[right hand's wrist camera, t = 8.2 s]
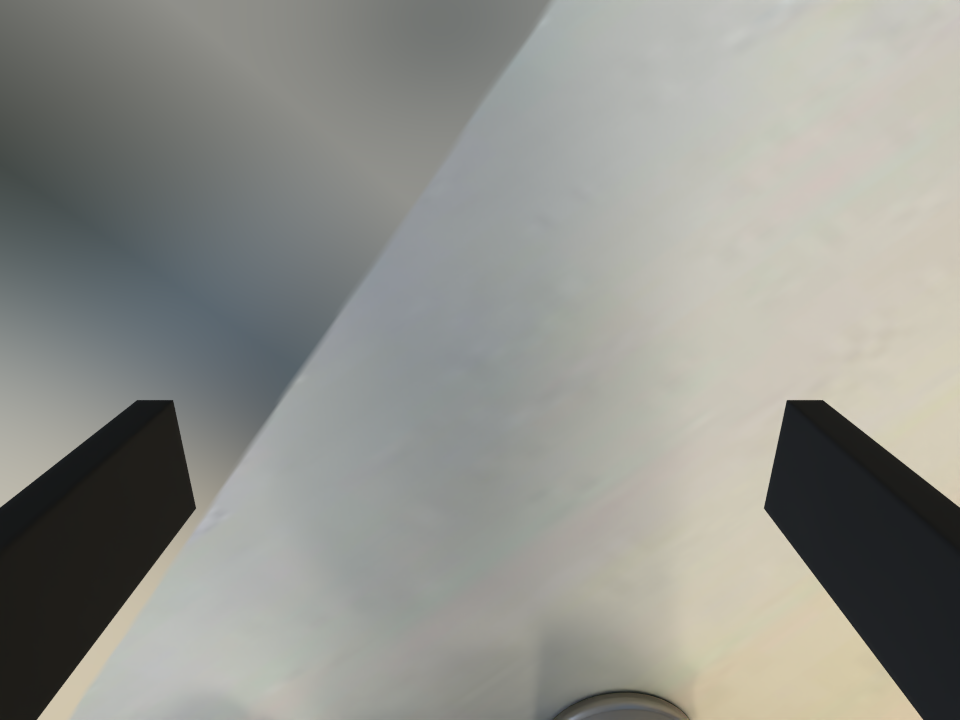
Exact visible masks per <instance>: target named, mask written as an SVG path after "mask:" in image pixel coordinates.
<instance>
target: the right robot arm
mask: <svg viewBox="0 0 960 720" xmlns="http://www.w3.org/2000/svg"><path fill="white" fill-rule="evenodd" d="M195 509H196V506H195V502H194V497H193V492H192V487H191V483H190V478H189V473H188V469H187V464H186V459H185V455H184V450H183V445H182V440H181V435H180V431H179V426H178V421H177V417H176V412H175V407H174V403H173V400H137V401H136V402H134V403H133V404H132V405H131V406H129V407H128V408H127V409H125V410H124V411H123V412H122V413H120V414H119V415H118V416H117V417H115V418H114V419H113V420H112V421H110V422H109V423H108V424H106V425H105V426H104V427H103V428H101V429H100V430H99V431H97V432H96V433H95V434H94V435H92V436H91V437H90V438H88V439H87V440H86V441H85V442H83V443H82V444H81V445H80V446H78V447H77V448H76V449H74V450H73V451H72V452H71V453H69V454H68V455H67V456H66V457H64V458H63V459H62V460H60V461H59V462H58V463H57V464H55V465H54V466H53V467H51V468H50V469H49V470H48V471H46V472H45V473H44V474H43V475H41V476H40V477H39V478H37V479H36V480H35V481H34V482H32V483H31V484H30V485H29V486H27V487H26V488H25V489H23V490H22V491H21V492H20V493H18V494H17V495H16V496H15V497H13V498H12V499H11V500H9V501H8V502H7V503H6V504H4V505H3V506H2V507H0V720H37V719H38V717H39V716H40V715H41V713H42V712H43V711H44V709H45V708H46V707H47V705H48V704H49V703H50V701H51V700H52V699H53V697H54V696H55V695H56V693H57V692H58V691H59V689H60V688H61V687H62V685H63V684H64V683H65V681H66V680H67V679H68V678H69V676H70V675H71V673H72V672H73V671H74V670H75V668H76V667H77V666H78V664H79V663H80V661H81V660H82V659H83V658H84V656H85V655H86V654H87V652H88V651H89V650H90V648H91V647H92V646H93V644H94V643H95V642H96V640H97V639H98V638H99V636H100V635H101V634H102V632H103V631H104V630H105V628H106V627H107V626H108V624H109V623H110V622H111V620H112V619H113V618H114V616H115V615H116V614H117V612H118V611H119V610H120V609H121V607H122V606H123V605H124V603H125V602H126V601H127V599H128V598H129V597H130V595H131V594H132V593H133V591H134V590H135V589H136V587H137V586H138V585H139V583H140V582H141V581H142V579H143V578H144V577H145V575H146V574H147V573H148V571H149V570H150V569H151V567H152V566H153V565H154V563H155V562H156V561H157V559H158V558H159V557H160V555H161V554H162V553H163V551H164V550H165V549H166V547H167V546H168V545H169V543H170V542H171V541H172V539H173V538H174V537H175V536H176V534H177V533H178V531H179V530H180V529H181V528H182V526H183V525H184V524H185V522H186V521H187V520H188V518H189V517H190V516H191V514H192V513H193V512H194V510H195ZM764 509H765V510H766V512H767V513H768V514H769V516H770V517H771V518H772V520H773V521H774V522H775V524H776V525H777V526H778V528H779V529H780V530H781V532H782V533H783V534H784V536H785V537H786V538H787V539H788V541H789V542H790V543H791V545H792V546H793V547H794V549H795V550H796V551H797V553H798V554H799V555H800V557H801V558H802V559H803V561H804V562H805V563H806V565H807V566H808V567H809V569H810V570H811V571H812V573H813V574H814V575H815V577H816V578H817V579H818V581H819V582H820V583H821V585H822V586H823V587H824V589H825V590H826V591H827V593H828V594H829V595H830V597H831V598H832V599H833V601H834V602H835V603H836V605H837V606H838V607H839V609H840V610H841V611H842V612H843V614H844V615H845V616H846V618H847V619H848V620H849V622H850V623H851V624H852V626H853V627H854V628H855V630H856V631H857V632H858V634H859V635H860V636H861V638H862V639H863V640H864V642H865V643H866V644H867V646H868V647H869V648H870V650H871V651H872V652H873V654H874V655H875V656H876V658H877V659H878V660H879V662H880V663H881V664H882V666H883V667H884V668H885V670H886V671H887V672H888V674H889V675H890V676H891V678H892V679H893V680H894V681H895V683H896V684H897V685H898V687H899V688H900V689H901V691H902V692H903V693H904V695H905V696H906V697H907V699H908V700H909V701H910V703H911V704H912V705H913V707H914V708H915V709H916V711H917V712H918V713H919V715H920V716H921V717H922V719H923V720H960V507H958V506H957V505H956V504H954V503H953V502H952V501H951V500H949V499H948V498H947V497H945V496H944V495H943V494H942V493H940V492H939V491H938V490H937V489H935V488H934V487H933V486H931V485H930V484H929V483H928V482H926V481H925V480H924V479H923V478H921V477H920V476H919V475H917V474H916V473H915V472H914V471H912V470H911V469H910V468H909V467H907V466H906V465H905V464H903V463H902V462H901V461H900V460H898V459H897V458H896V457H894V456H893V455H892V454H891V453H889V452H888V451H887V450H886V449H884V448H883V447H882V446H880V445H879V444H878V443H877V442H875V441H874V440H873V439H872V438H870V437H869V436H868V435H866V434H865V433H864V432H863V431H861V430H860V429H859V428H858V427H856V426H855V425H854V424H852V423H851V422H850V421H849V420H847V419H846V418H845V417H843V416H842V415H841V414H840V413H838V412H837V411H836V410H835V409H833V408H832V407H831V406H829V405H828V404H827V403H826V402H824V401H823V400H787V402H786V407H785V412H784V417H783V421H782V426H781V431H780V435H779V440H778V445H777V450H776V454H775V459H774V464H773V468H772V473H771V478H770V483H769V487H768V492H767V497H766V501H765V506H764ZM553 720H689V718H688V717H687V716H686V715H685V714H684V713H683V712H682V711H681V710H680V709H678V708H677V707H676V706H674V705H672V704H671V703H669V702H667V701H664V700H662V699H659V698H657V697H653V696H650V695H645V694H639V693H610V694H604V695H599V696H595V697H591V698H588V699H585V700H583V701H580V702H578V703H576V704H574V705H572V706H570V707H569V708H567V709H565V710H564V711H563V712H561V713H560V714H559V715H558V716H556V717H555V718H554V719H553Z"/></svg>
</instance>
